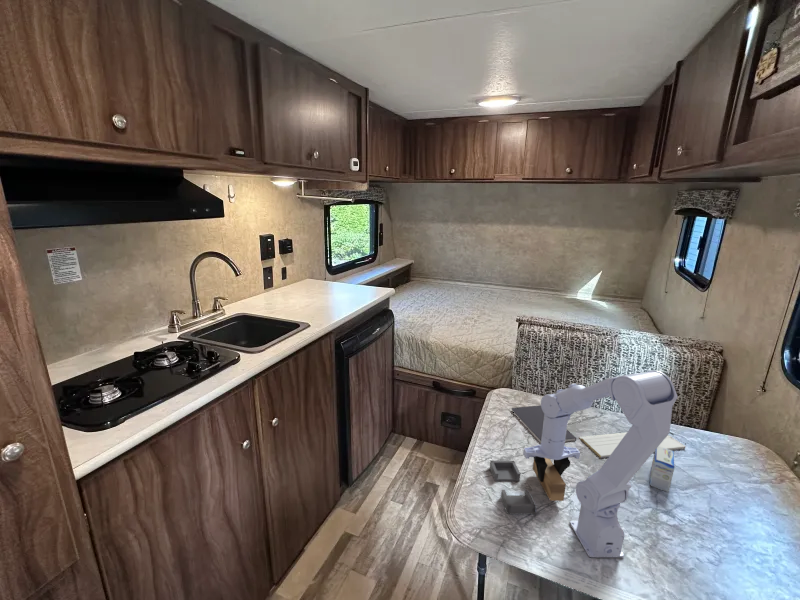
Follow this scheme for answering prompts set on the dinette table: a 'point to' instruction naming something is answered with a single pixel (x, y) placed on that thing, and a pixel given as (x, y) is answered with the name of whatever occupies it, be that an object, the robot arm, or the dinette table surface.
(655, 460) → the medicine box
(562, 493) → the brown wooden block
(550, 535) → the dinette table surface
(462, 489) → the dinette table surface
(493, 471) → the end caps
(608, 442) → the baseboard molding
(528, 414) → the notebook
